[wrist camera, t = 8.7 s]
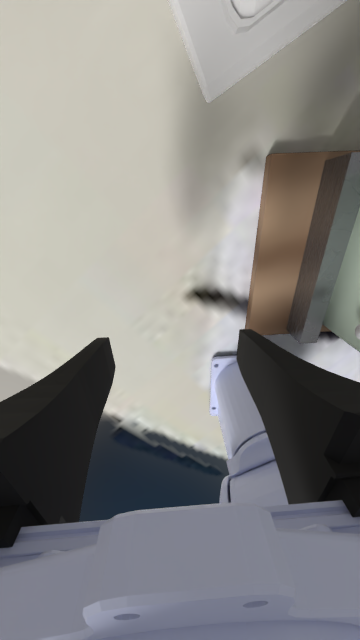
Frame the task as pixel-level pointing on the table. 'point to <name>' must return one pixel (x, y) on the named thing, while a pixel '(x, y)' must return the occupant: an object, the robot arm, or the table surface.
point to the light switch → (240, 34)
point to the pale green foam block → (347, 294)
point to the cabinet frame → (301, 240)
